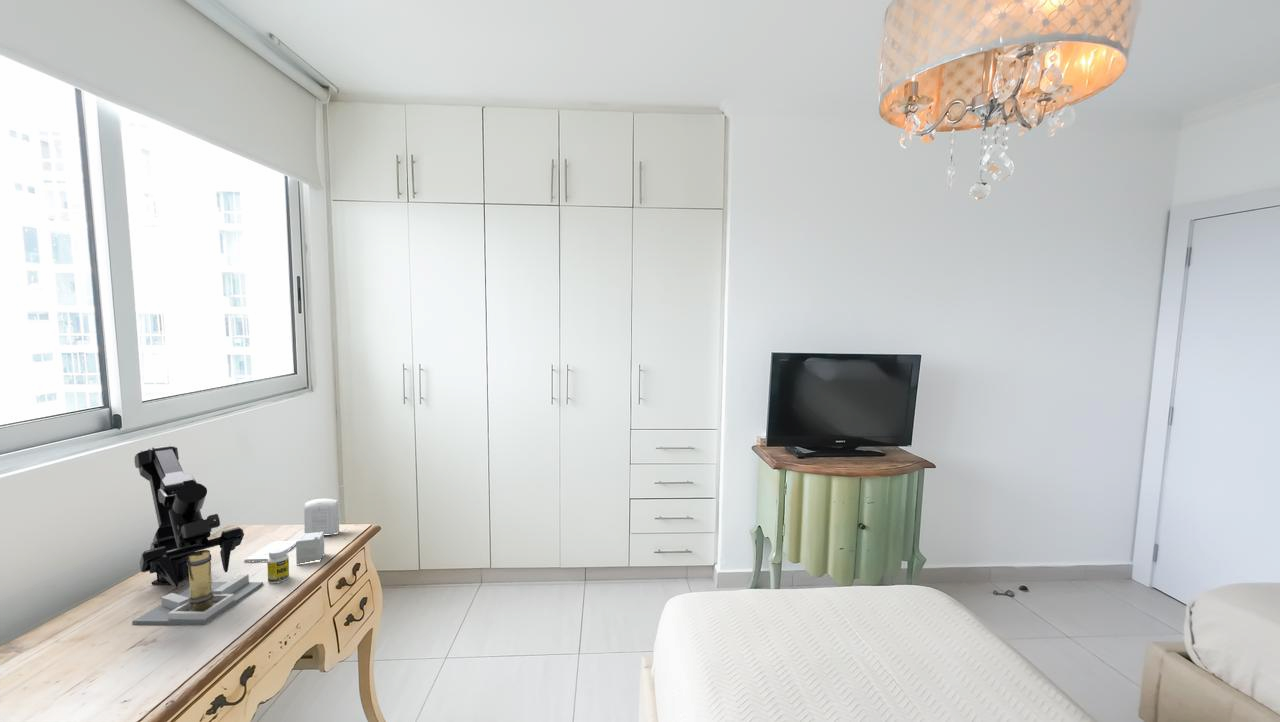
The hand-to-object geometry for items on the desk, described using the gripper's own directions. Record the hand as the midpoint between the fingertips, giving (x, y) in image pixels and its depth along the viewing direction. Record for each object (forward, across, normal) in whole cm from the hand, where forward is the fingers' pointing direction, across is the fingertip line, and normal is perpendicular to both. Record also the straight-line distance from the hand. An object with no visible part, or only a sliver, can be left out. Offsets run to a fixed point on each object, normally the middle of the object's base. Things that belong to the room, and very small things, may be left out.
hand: (202, 579), depth 119 cm
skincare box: (-2, +27, +14) cm, 31 cm away
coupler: (+5, 0, +7) cm, 8 cm away
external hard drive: (-11, +22, +25) cm, 35 cm away
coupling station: (+2, +1, +11) cm, 11 cm away
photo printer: (-14, +37, +27) cm, 48 cm away
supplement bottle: (+3, +17, +10) cm, 20 cm away
